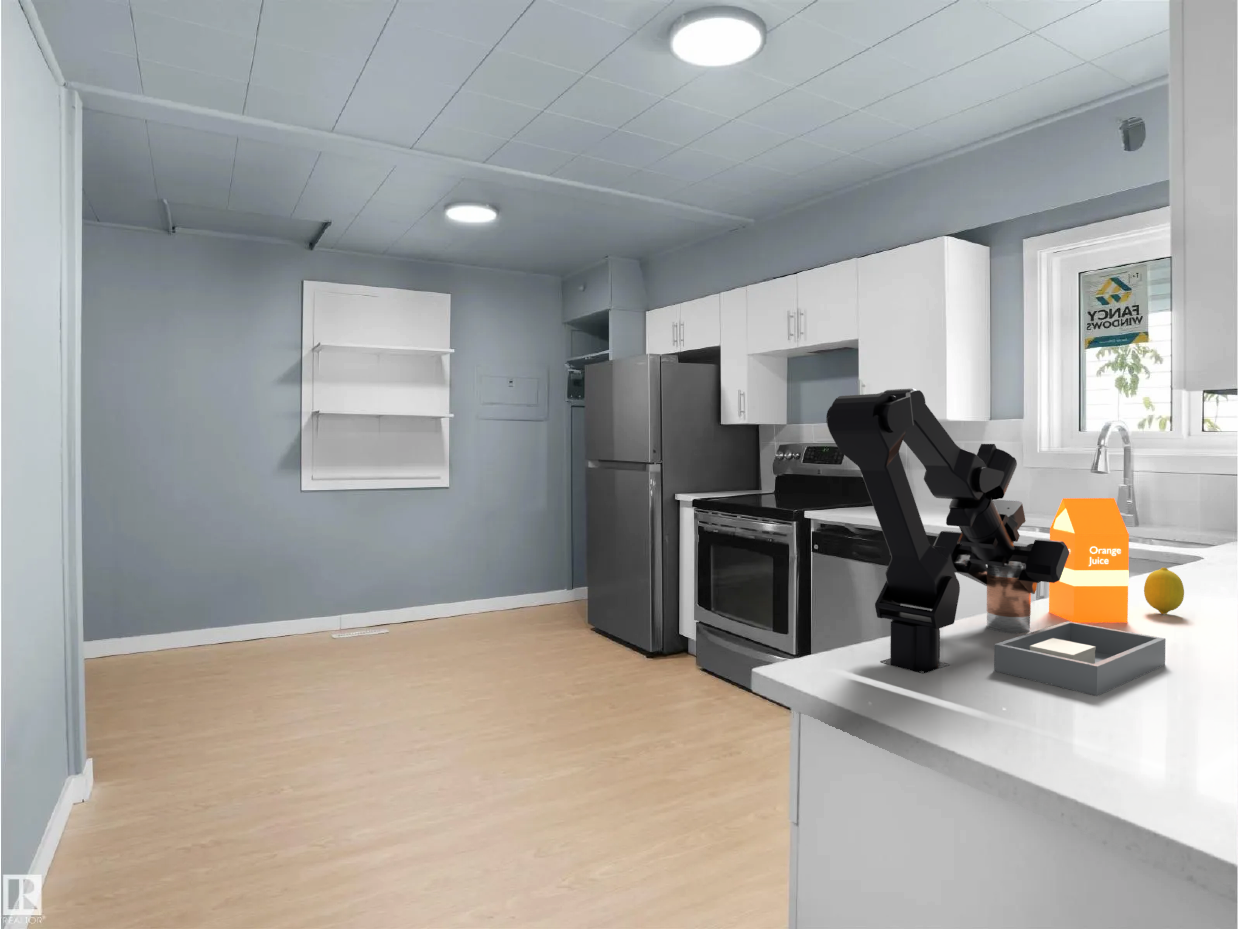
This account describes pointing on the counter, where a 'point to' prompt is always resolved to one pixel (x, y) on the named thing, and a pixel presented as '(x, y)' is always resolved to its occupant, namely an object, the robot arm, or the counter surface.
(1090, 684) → the grey rectangular tray
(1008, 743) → the counter surface
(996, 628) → the steel tin
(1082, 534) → the orange juice
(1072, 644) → the cream smooth square block
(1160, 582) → the lemon
